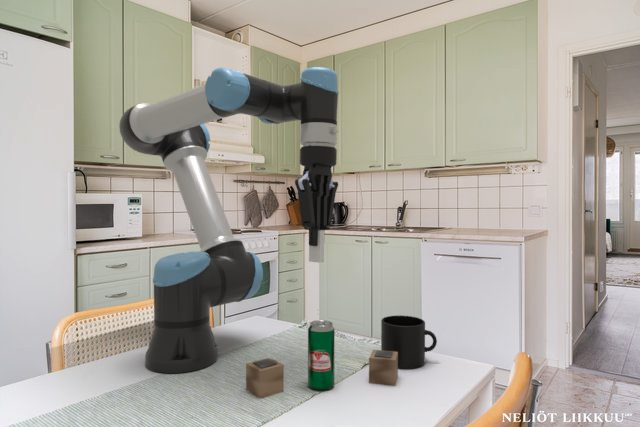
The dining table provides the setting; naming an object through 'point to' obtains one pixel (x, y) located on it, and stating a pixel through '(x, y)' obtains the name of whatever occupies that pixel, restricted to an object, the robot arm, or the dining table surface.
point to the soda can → (321, 355)
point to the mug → (406, 339)
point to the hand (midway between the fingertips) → (316, 261)
